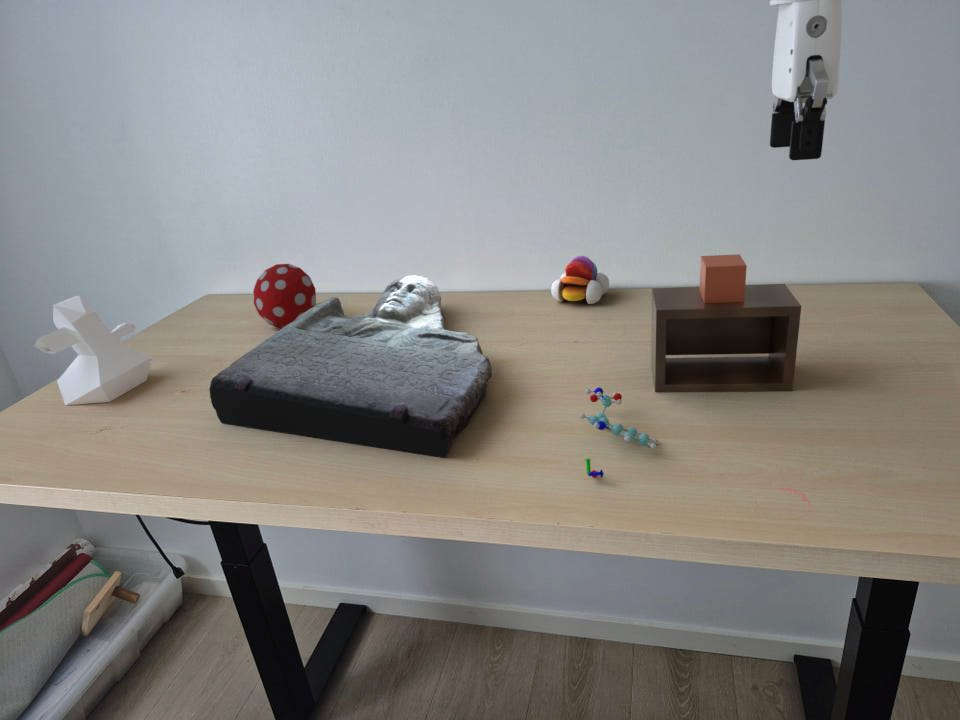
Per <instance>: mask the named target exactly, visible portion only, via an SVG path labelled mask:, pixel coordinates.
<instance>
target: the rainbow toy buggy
mask: <svg viewBox="0 0 960 720" xmlns="http://www.w3.org/2000/svg"><path fill="white" fill-rule="evenodd" d="M609 288H610V279H609V278H608V275H606V274H605V273H603V272H601V271H600V272H598V266H597V265H596V263H595V262H594V261H592V260H591V259H590V258H589V257H587V256H585V255H578V256H576V257H573V258H572V259H571V260H570V261H569V263H568V264H567V265H566V267H565V270H564V273H562V274H561V276H560V277H559V278H557V279H556V280H554V281H553V283H552V284H551V288H550V293H551V296H552V297H553V299H555V301H557V302H561V303H562V302H563V301H564V300H565V301H569V302H577V301H582V300H584V299H586V302H587V304H588V305H593V304H596V303H598V302H599V301H600V300H601V298H602V296H603V295H605V294H606V293H607V292H608V290H609Z"/></svg>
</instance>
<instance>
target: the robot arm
mask: <svg viewBox="0 0 960 720" xmlns="http://www.w3.org/2000/svg"><path fill="white" fill-rule="evenodd" d="M769 6H770V7H774V6H779V7H778V13H777V21H776V25H775V26H776V29H775V30H776V31H775V37H774V47H773V48H774V49H773V59H772V72H771V92H772V94H773V96H774V100H773V104H772V113H771V122H770V135H769V136H770V137H769V146H770V147H771V148H773V149H775V148H776V149H777V148H778V149H779V148H789V154H788V158H789V160H791V161H806V160H818V159H821V157H822V153H823V143H824V134H825V123H826V117H827V110H826V105H827V104H828V100H831V99H833V98H834V97H835V96H836V95H837V93H838V87H839V76H840V74H839V73H840V58H841V45H842V44H841V43H842V20H843V19H842V17H843V16H842V15H843V14H842V11H843V10H842V0H769Z"/></svg>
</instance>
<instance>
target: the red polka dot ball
mask: <svg viewBox="0 0 960 720" xmlns="http://www.w3.org/2000/svg"><path fill="white" fill-rule="evenodd" d="M316 291H317V290H316V287H315V284H314V283H313V281H312V278H311V277H310V276H309V274H308V273H306V272H305V271H304V270H303V269H302V268H301V267H299V266H296V265H293V264H290V263H278V264H274V265H272V266H271V267H269V268H266V269H265V270H263V272H262V273H261V274H260V276H258V278H257V279H256V281H255V284H254V287H253V291H252V294H253V295H252V296H253V305H254V307H255V309H256V312H257V313H258V315H259V317H260V318H262V319H263V320H264V321H265V322H266V323H267V324H268V325H270V326H273V327H275V328H278V329H279V330H280V329H282V328H283V327H285V326H286V325H288V324H289V323H291V322H293V321H294V320H295V319H296V318H298V317H299V316H300V315H302V314H303V313H305V312H306V311H307V310H309V309H311V308H313V307H314V306H315V305H316V302H317V293H316Z"/></svg>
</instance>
